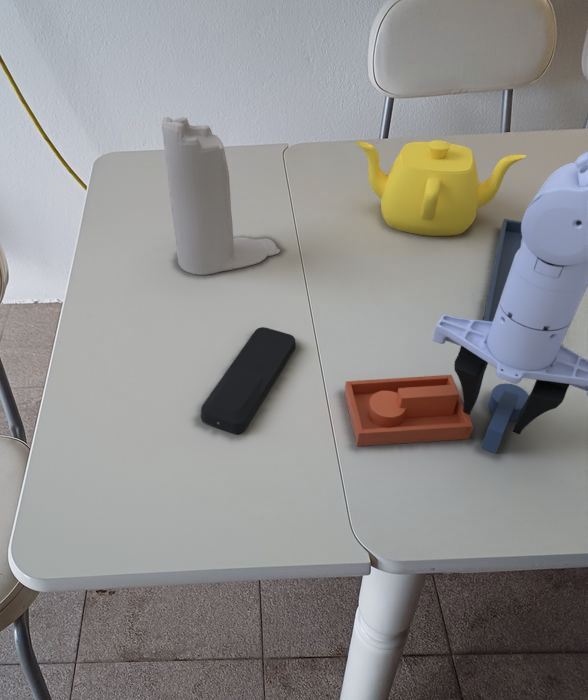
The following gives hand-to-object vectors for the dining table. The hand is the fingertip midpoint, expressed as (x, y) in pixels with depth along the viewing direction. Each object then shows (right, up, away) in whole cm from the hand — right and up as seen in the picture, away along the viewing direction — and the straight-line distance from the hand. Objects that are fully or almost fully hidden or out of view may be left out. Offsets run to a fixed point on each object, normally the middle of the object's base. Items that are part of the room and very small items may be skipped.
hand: (493, 416), depth 62 cm
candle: (-26, +19, +25) cm, 41 cm away
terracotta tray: (-8, 0, +3) cm, 8 cm away
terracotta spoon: (-7, 0, +3) cm, 8 cm away
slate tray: (+10, +14, +18) cm, 25 cm away
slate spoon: (+1, -1, +2) cm, 2 cm away
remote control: (-23, +3, +7) cm, 25 cm away
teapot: (+2, +25, +30) cm, 39 cm away
